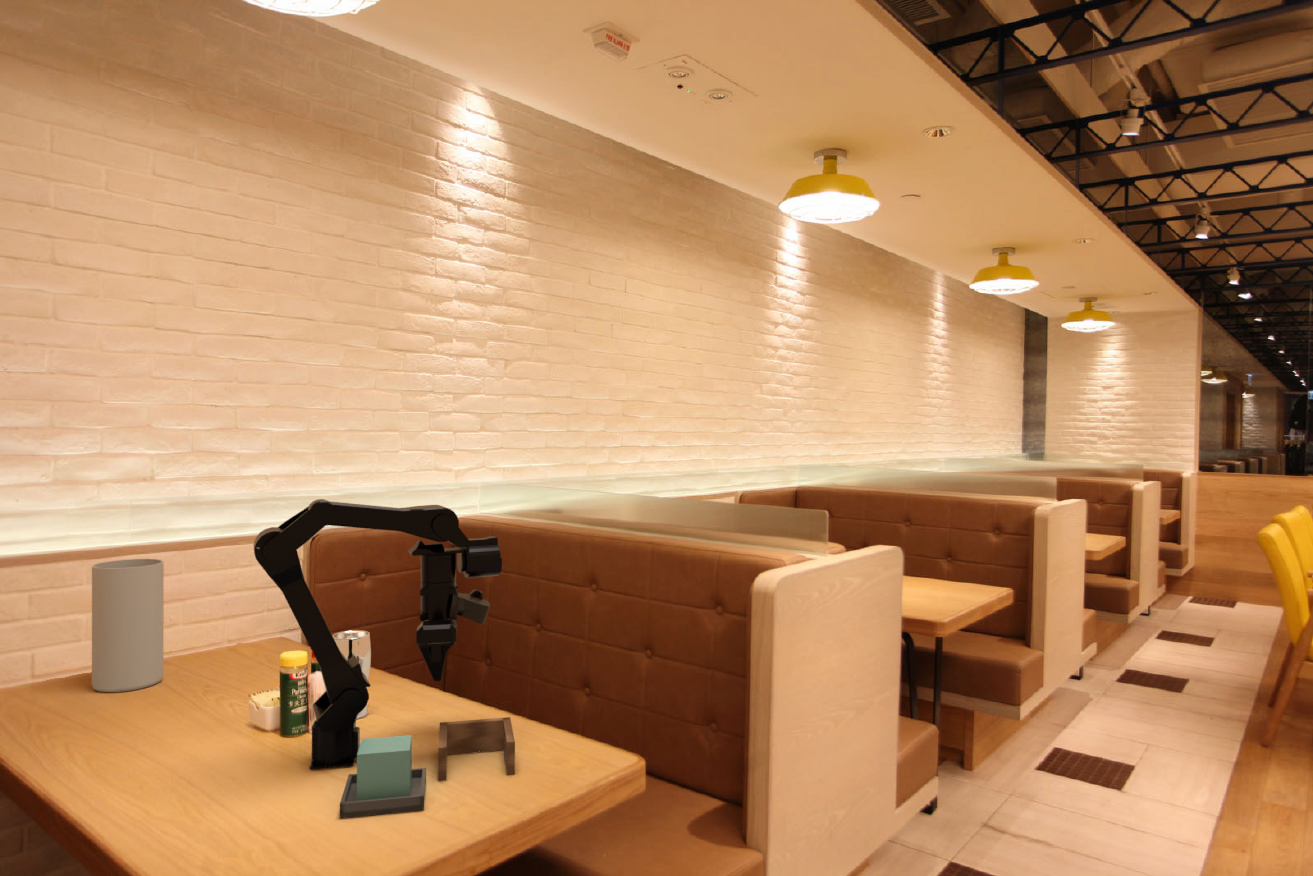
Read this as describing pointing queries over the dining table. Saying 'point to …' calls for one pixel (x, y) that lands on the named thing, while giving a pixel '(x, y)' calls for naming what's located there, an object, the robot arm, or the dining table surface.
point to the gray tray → (383, 799)
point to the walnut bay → (476, 740)
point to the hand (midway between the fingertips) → (438, 672)
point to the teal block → (384, 767)
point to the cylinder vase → (127, 624)
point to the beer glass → (356, 652)
